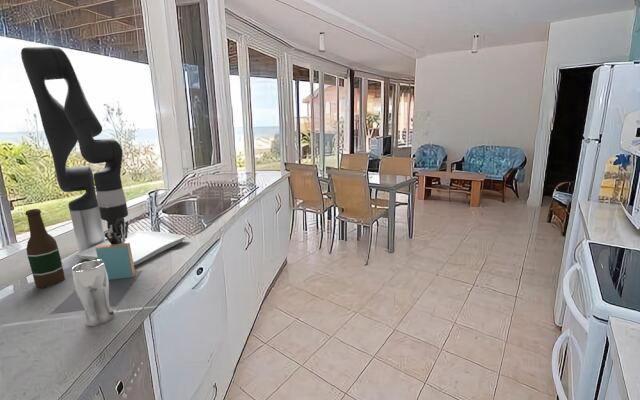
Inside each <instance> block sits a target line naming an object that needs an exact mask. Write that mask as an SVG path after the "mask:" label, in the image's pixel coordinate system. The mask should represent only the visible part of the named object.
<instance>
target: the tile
mask: <svg viewBox="0 0 640 400" xmlns="http://www.w3.org/2000/svg"><path fill="white" fill-rule="evenodd" d="M96 252H97V257H98V260H103V261H104V264H105V267H106V270H107V274H108V279H109V280H113V279H122V278H132V277H134V276H135V275H136V274H135V271H136V269H135V266H134V263H133V258H132V253H131V247H130V243H122V244H111V245H100V246H97V247H96Z"/></svg>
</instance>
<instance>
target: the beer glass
mask: <svg viewBox="0 0 640 400" xmlns="http://www.w3.org/2000/svg"><path fill="white" fill-rule="evenodd" d="M71 274H72V281H73V286H74V289H75V290H76V293H77V295H78V297H79V299H80V301H81V303H82V305H83V307H84V310H83V311H84V314H85V319H84V321H85V326H87V327H98V326H101V325H105V324H107V323H108V322H110V321H111V320H112V319H113V318H114V316H115V314H114V312H113V308H112V307H110V303H109V279H108V274H107V270H106V267H105V264H104V261H103V260H86V261H83V262H80V263H77V264H75V265H74V266H73V267H72V268H71ZM75 290H74V291H75Z"/></svg>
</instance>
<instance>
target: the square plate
mask: <svg viewBox="0 0 640 400" xmlns="http://www.w3.org/2000/svg"><path fill="white" fill-rule="evenodd" d="M185 238H187V235H184V234H177V233H170V232H161V231H153V230H152V231H150V230H138V229H137V230H134V231H131V232H128V233H127V238H126V239H125V240H126V241H125V243H130V247H131V253H132V258H133V263H134V267H135V266H137V265H140V264H142V263H143V262H145V261H147V260H149V259H150V258H153V257H154V256H157V255H158V254H160V253H162V252H165V251H166V250H168V249H171V248H172V247H174V246H176V245H179V244H180V243H181V242H182V241H183V240H185ZM100 245H111V243H110V242H109V241H108V240H106V242H103V243H101V244H98V245H96V246H94V247H91V248H89V249H87V250H84V251H82V252H79V251H78V253H75V256H77V257H78V258H81V259H85V260H87V261H90V260H98V257H97V252H96V247H97V246H100Z"/></svg>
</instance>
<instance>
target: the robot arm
mask: <svg viewBox="0 0 640 400" xmlns="http://www.w3.org/2000/svg"><path fill="white" fill-rule="evenodd" d="M20 57H21V61H22V65H23V68H24V70H25V74H26V76H27V79H28V81H29V84H30V87H31V89H32V92H33V95H34V98H35V101H36V104H37V107H38V112H39V115H40V120H41V124H42V128H43V131H44V135H45V137H46V140H47V143H48V146H49V149H50V153H51V156H52V160H53V165H54V170H55V174H56V180H57V184H58V186H59V188H60V190H61V191H62V192H64V193H71V192H72V193H73V192H81V191H85V193H84V194H82V195H81V196H79V197H78V198H75V199H73V200H71V201H70V202H68V210H69V213H70V217H71V223H72V227H73V231H74V235H75V240H76V244H77V249H78V253H79V252H82V251H84V250H87V249H89V248H91V247H94V246H96V245H98V244H101V243H103V242H106V241H109V242H110V243H111V244H122V243H125V241H126V240H125V239H126V238H127V233H129V221H125V218H126V217H128V216H129V212H128V211H129V210H128V206H127V200H126V196H125V192H124V188H123V185H122V184H123V183H122V177H121V171H122V162H123V148H122V145H121V144H120V142H118V141H117V140H116V139H114V138H100V139H94V138H95V137H97V136H100V134H101V133H102V132H103V126H102V123H101V122H100V121H99V119H98V117H97V116H96V114H95V113H94V111H93V109H92V108H91V106H90V104H89V101H88V99H87V98H86V95H85V92H84V90H83V87H82V85H81V83H80V80H79V78H78V75H77V73H76V70H75V68H74V65H73V64H72V62H71V59H70V58H69V56H68V55H67V53H66V52H65V51H64V50H63V48H60V47H57V46H32V47H31V46H29V47H28V46H27V47H23V48H21V50H20ZM50 80H51V81H52V80H64V81H65V84H66V87H67V88H66V89H67V90H66V95H65V100H64V104H62V102H60V101H59V100H58V99H56V97H55V96H54V95H53V94H52V93H51V91H50V90H49V89H48V86H47V84H46V81H50ZM77 143H78V146H79V147H78V148H79V151H80V154H81V157H82V158H83V159H84V160H85V161H86V162H87V163H89V164H92V165H95V164H98V165H99V164H103V163H104V164H105V165H104V167H103V169H100V170H99V171H96V172H95V173H94V174H93V170H92V168H91V167H90V166H89V165H80V166H79V165H78V166H77V165H76V166H69V167H68V166H67V161H68V158H69V156H70V154H71V153H72V151H73V150H74V148H75V147H76V144H77ZM102 221H106V224H107V227H106V228H107V232H105V231H104V226H103V222H102Z"/></svg>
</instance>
